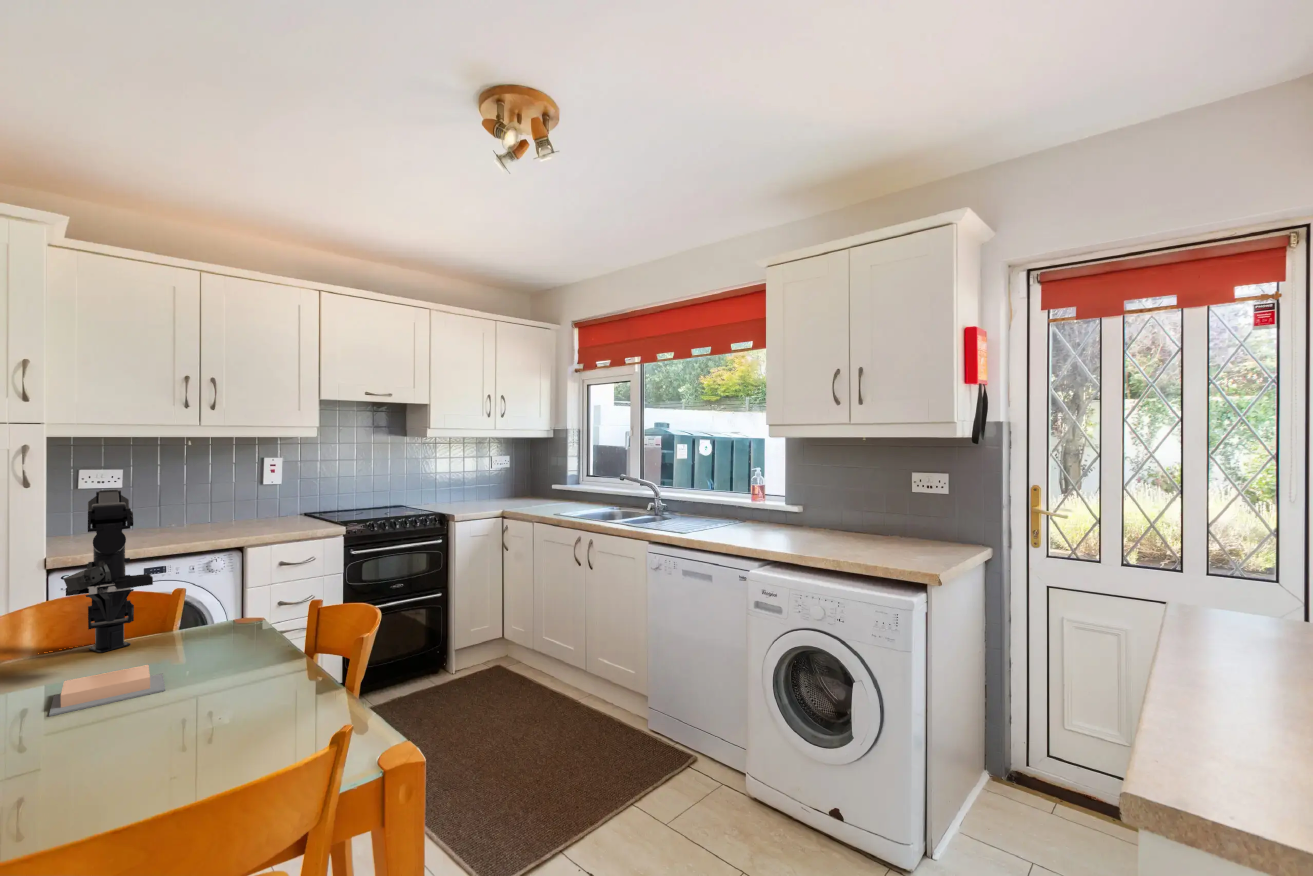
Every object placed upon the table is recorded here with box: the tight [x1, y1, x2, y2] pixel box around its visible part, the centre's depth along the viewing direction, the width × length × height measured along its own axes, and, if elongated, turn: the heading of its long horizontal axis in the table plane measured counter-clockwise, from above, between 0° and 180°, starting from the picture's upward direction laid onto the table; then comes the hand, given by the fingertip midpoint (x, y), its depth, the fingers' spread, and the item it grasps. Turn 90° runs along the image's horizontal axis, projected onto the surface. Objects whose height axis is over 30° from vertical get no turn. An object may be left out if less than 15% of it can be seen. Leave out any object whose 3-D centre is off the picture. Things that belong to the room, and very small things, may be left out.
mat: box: [48, 673, 166, 717], centre depth 131 cm, size 12×18×1 cm, turn 132°
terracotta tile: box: [60, 664, 151, 708], centre depth 132 cm, size 2×14×10 cm
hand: (110, 621), depth 144 cm, fingers closed
